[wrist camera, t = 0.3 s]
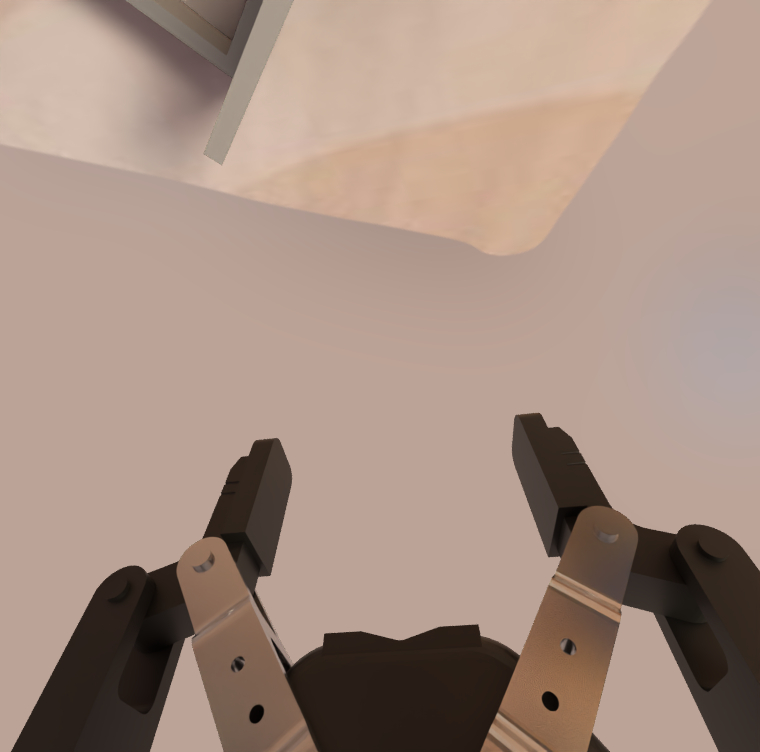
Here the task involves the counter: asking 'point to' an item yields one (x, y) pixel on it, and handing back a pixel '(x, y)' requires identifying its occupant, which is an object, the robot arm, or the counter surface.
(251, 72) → the case
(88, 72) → the counter surface
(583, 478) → the robot arm
